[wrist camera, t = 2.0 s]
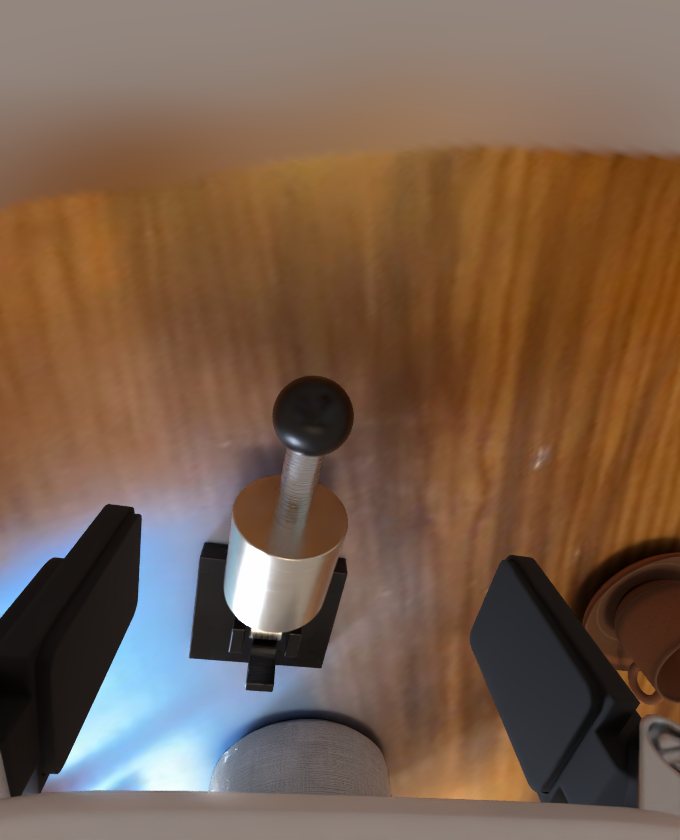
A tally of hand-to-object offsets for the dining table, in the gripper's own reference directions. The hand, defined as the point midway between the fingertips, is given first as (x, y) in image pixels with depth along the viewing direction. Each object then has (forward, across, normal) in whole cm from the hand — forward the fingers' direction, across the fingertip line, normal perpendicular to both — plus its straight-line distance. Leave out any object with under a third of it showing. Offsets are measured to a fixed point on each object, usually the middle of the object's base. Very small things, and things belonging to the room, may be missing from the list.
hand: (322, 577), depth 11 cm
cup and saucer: (+16, -30, +13) cm, 36 cm away
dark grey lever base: (+16, 0, +17) cm, 23 cm away
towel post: (+12, 0, +16) cm, 20 cm away
